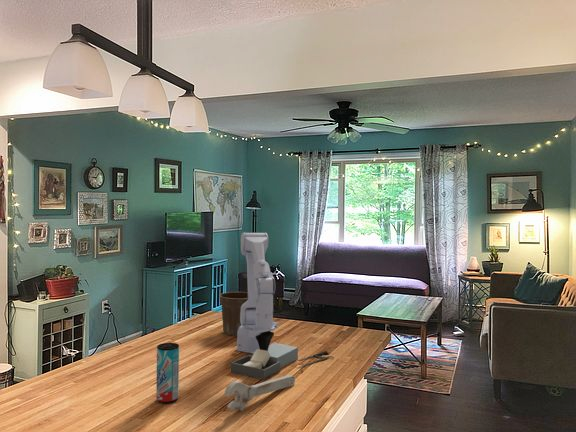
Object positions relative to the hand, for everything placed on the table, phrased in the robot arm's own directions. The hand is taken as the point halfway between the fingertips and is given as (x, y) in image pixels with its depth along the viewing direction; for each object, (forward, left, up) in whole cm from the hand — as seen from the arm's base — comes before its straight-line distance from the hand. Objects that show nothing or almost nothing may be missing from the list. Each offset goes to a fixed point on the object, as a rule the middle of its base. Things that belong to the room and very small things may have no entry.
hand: (263, 353), depth 156 cm
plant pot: (-33, +30, -5) cm, 46 cm away
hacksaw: (+11, +13, -5) cm, 18 cm away
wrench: (+14, -21, -5) cm, 26 cm away
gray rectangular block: (0, +7, -5) cm, 9 cm away
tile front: (0, -7, -2) cm, 7 cm away
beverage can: (-7, -37, -5) cm, 38 cm away
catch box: (0, -5, -5) cm, 7 cm away
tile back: (0, -2, -2) cm, 2 cm away
